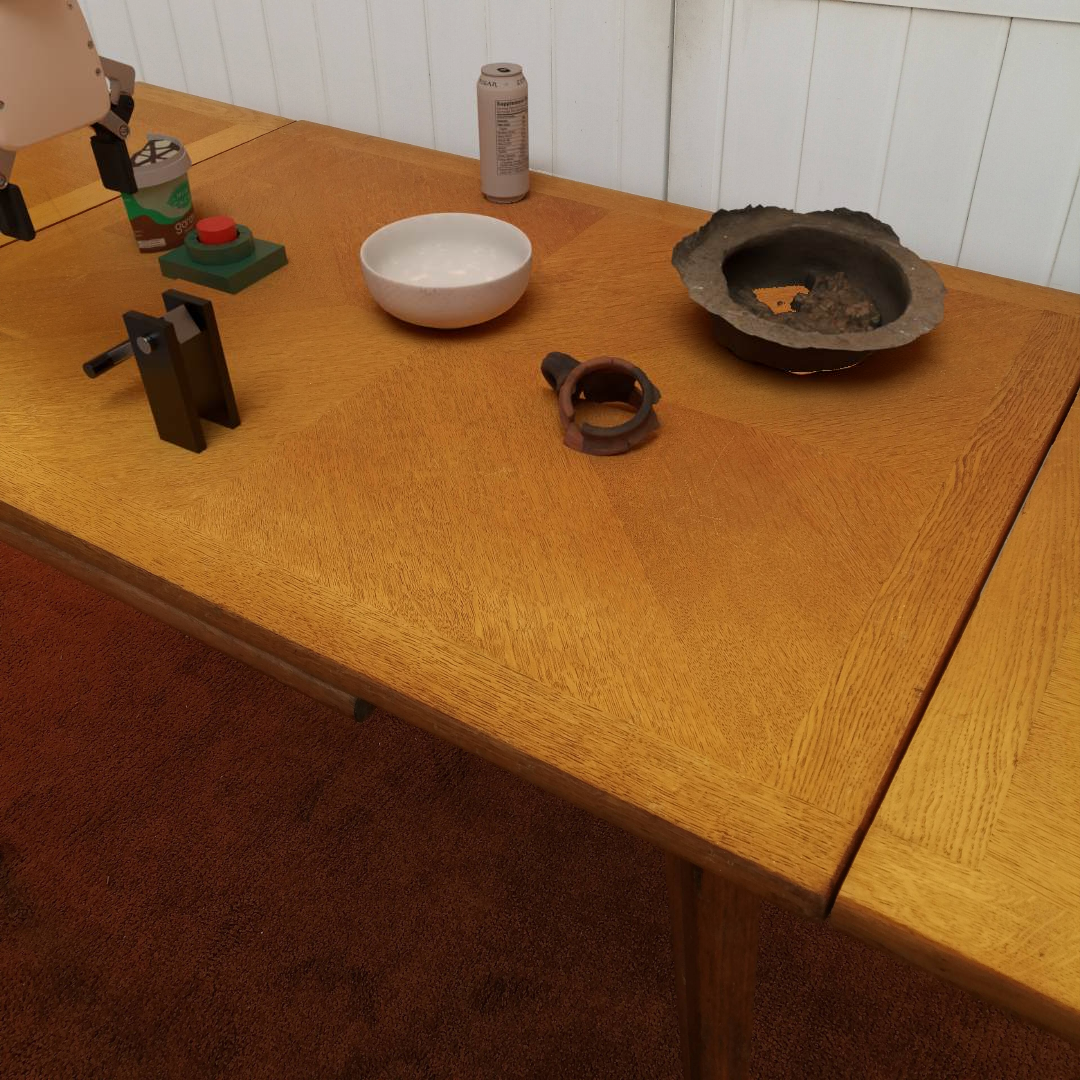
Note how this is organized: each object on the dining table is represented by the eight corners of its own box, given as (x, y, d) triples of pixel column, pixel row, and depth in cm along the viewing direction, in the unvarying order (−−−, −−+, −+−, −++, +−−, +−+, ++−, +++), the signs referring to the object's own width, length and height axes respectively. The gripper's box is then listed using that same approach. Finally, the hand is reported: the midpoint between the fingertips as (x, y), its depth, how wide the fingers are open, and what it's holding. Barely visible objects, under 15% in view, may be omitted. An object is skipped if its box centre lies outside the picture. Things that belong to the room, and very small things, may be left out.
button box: (162, 276, 109) (153, 241, 106) (220, 246, 115) (213, 212, 112) (231, 297, 105) (223, 261, 103) (288, 264, 111) (281, 229, 108)
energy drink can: (513, 183, 129) (510, 58, 119) (538, 198, 125) (537, 70, 115) (473, 193, 126) (466, 66, 117) (496, 208, 123) (491, 79, 113)
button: (191, 242, 107) (187, 226, 106) (218, 228, 110) (214, 213, 109) (219, 249, 106) (216, 233, 104) (245, 236, 108) (242, 220, 107)
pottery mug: (681, 424, 87) (686, 379, 79) (617, 506, 85) (616, 468, 77) (572, 354, 90) (566, 304, 83) (507, 432, 88) (495, 388, 81)
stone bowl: (723, 259, 111) (739, 176, 104) (949, 328, 102) (981, 243, 96) (624, 355, 94) (637, 264, 88) (884, 447, 86) (918, 353, 80)
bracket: (122, 451, 84) (75, 312, 76) (191, 405, 89) (154, 271, 81) (219, 490, 80) (181, 348, 71) (286, 439, 85) (257, 302, 77)
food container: (191, 259, 112) (168, 170, 106) (136, 260, 112) (110, 170, 106) (219, 215, 121) (200, 131, 115) (169, 215, 122) (147, 131, 115)
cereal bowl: (335, 330, 99) (324, 264, 95) (420, 264, 111) (414, 201, 106) (486, 367, 94) (482, 298, 89) (559, 293, 105) (560, 228, 101)
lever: (93, 385, 83) (75, 360, 82) (139, 359, 86) (122, 334, 86) (167, 352, 75) (148, 323, 74) (214, 324, 79) (196, 296, 78)
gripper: (56, -72, 72) (124, 167, 83) (-176, -24, 60) (-61, 246, 71) (131, -65, 69) (191, 183, 80) (-98, -13, 57) (10, 268, 68)
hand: (72, 213), depth 75 cm, fingers open, 9 cm apart
